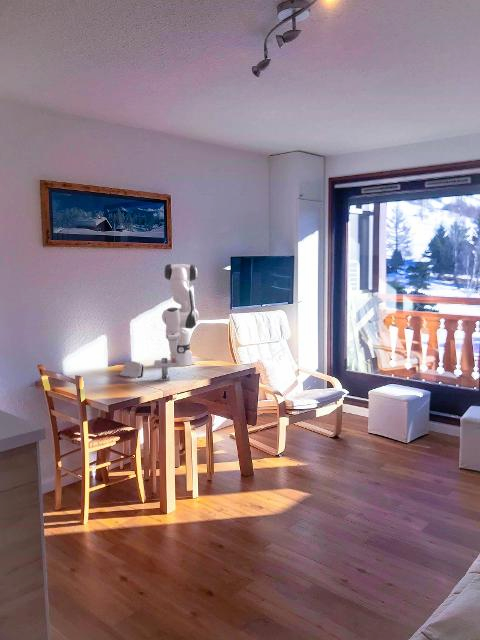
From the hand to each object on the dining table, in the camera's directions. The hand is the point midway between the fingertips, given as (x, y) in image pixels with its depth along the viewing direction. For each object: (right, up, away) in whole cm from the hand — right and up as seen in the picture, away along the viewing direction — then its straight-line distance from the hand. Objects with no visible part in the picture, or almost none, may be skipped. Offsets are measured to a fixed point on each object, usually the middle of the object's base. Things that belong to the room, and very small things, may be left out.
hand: (173, 357), depth 333 cm
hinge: (-27, -13, +14) cm, 33 cm away
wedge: (0, -5, +1) cm, 5 cm away
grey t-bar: (-4, -13, +1) cm, 14 cm away
